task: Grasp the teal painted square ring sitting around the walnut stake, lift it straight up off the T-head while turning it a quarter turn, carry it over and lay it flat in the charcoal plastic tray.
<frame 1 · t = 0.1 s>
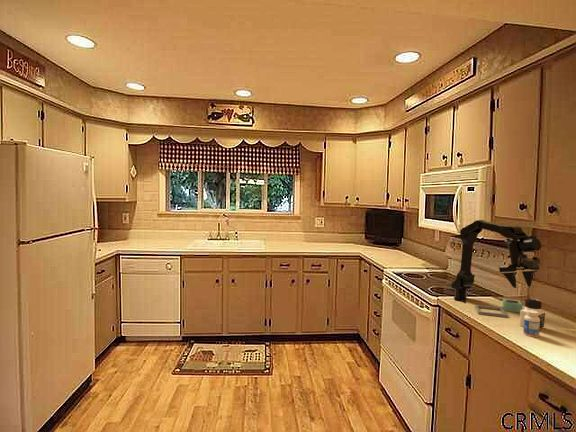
hand: (522, 287, 170), 15 cm above the countertop, tool pointing down, fingers open, 9 cm apart
labeled white jar: (531, 327, 163), on the countertop
pill bottle: (530, 335, 153), on the countertop
ring: (511, 309, 184), point 1 cm above the countertop, touching stake
tray: (490, 313, 179), on the countertop
stake: (511, 311, 184), on the countertop
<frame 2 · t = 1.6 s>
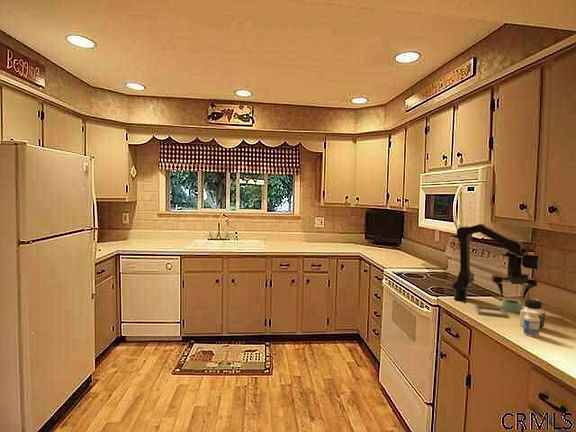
hand: (512, 297, 184), 7 cm above the countertop, tool pointing down, fingers open, 9 cm apart
nothing on the countertop moved.
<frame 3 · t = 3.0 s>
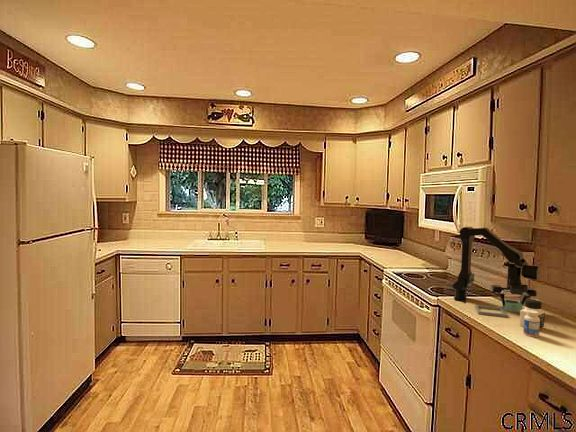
hand: (512, 307, 184), 2 cm above the countertop, tool pointing down, fingers closed on ring, 7 cm apart
ring: (511, 309, 184), point 1 cm above the countertop, touching gripper, stake
everything else where it was.
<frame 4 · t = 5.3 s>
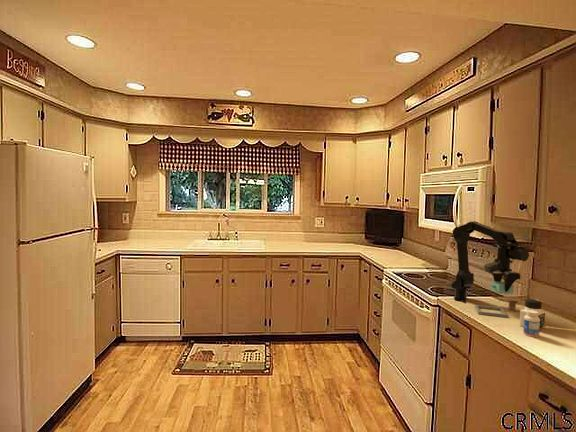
hand: (501, 289, 181), 11 cm above the countertop, tool pointing down, fingers closed on ring, 7 cm apart
ring: (501, 291, 181), point 10 cm above the countertop, touching gripper
everything else where it was.
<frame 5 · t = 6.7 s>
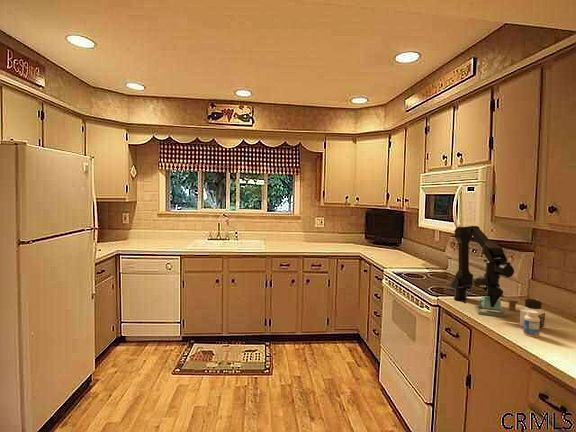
hand: (490, 304, 179), 4 cm above the countertop, tool pointing down, fingers closed on ring, 7 cm apart
ring: (490, 306, 179), point 3 cm above the countertop, touching gripper
everything else where it was.
when the fingers open (3 cm above the countertop, at t = 7.8 s): ring drops 2 cm, resting on tray.
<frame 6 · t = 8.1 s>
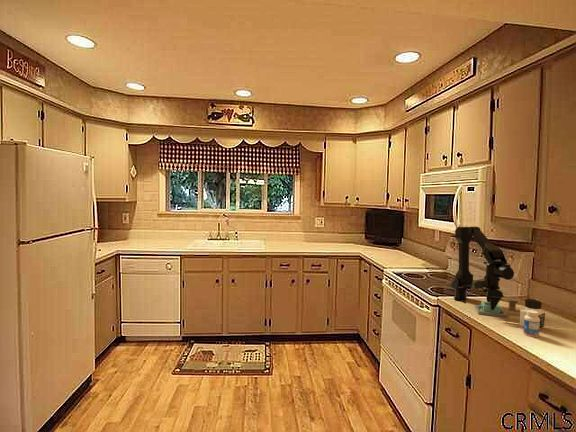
hand: (490, 306, 179), 3 cm above the countertop, tool pointing down, fingers open, 9 cm apart
ring: (490, 312, 180), point 1 cm above the countertop, touching tray
everything else where it was.
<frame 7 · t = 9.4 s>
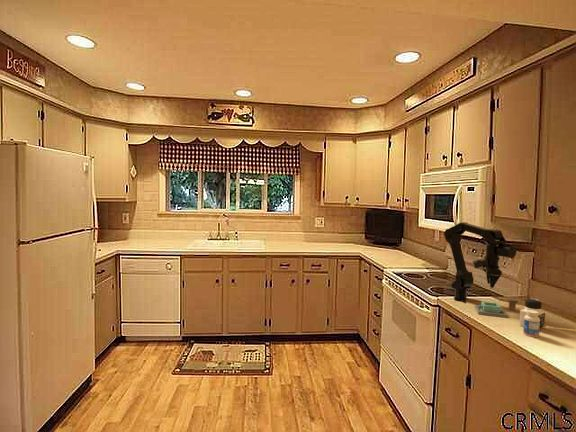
hand: (490, 285, 187), 12 cm above the countertop, tool pointing down, fingers open, 9 cm apart
nothing on the countertop moved.
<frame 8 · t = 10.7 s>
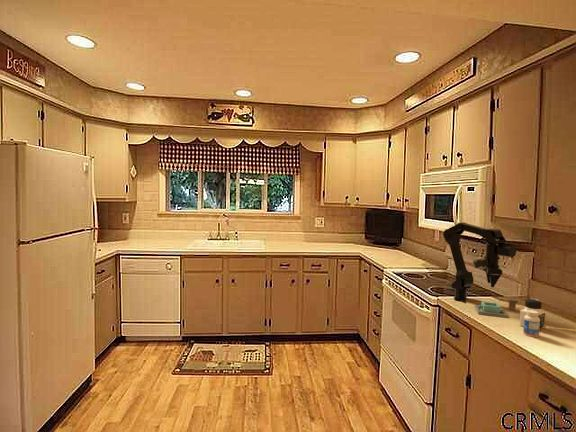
hand: (490, 285, 187), 12 cm above the countertop, tool pointing down, fingers open, 9 cm apart
nothing on the countertop moved.
at the end: ring inside the target area on the tray (0.1 cm from its centre), point 0.6 cm above the tray's base; ring tilted 0°; the gripper is holding nothing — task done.
